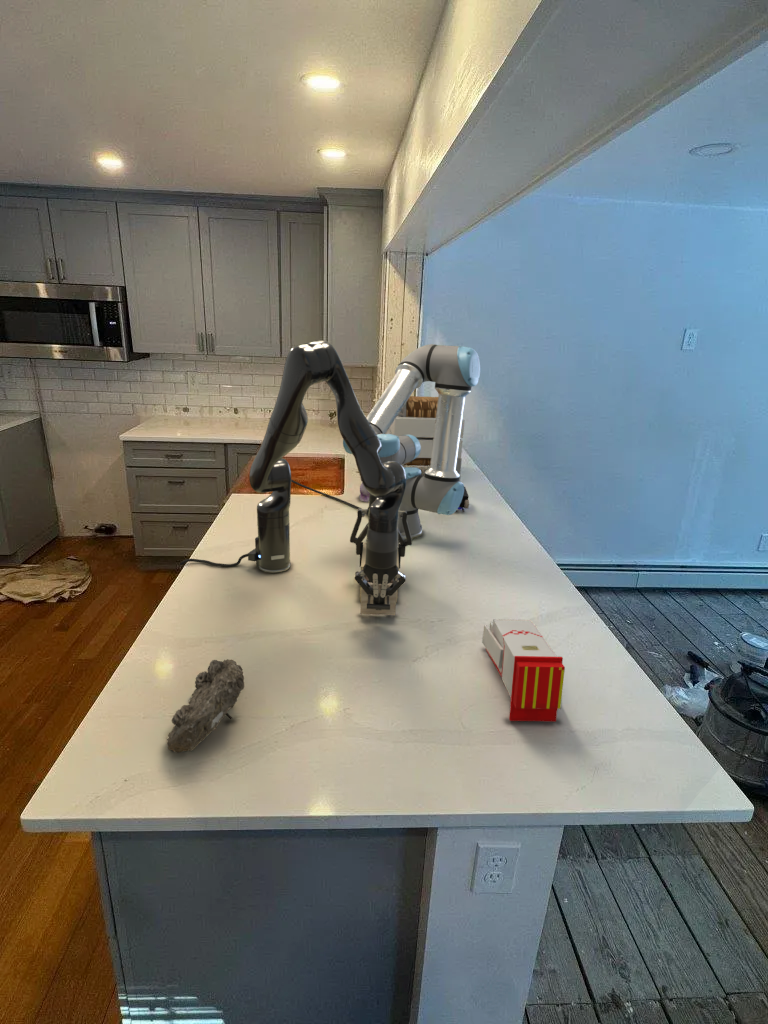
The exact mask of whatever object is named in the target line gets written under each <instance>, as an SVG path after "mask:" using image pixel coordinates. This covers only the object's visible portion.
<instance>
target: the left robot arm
mask: <svg viewBox="0 0 768 1024" xmlns="http://www.w3.org/2000/svg"><path fill="white" fill-rule="evenodd" d="M323 382H325V383H326V384H327V386H328V387H329V389H330V390H331V393H332V394H333V396H334V400H335V405H336V420H337V421H336V422H337V428H338V431H339V433H340V436H341V438H342V440H343V439H344V441H345V443H346V444H347V446H348V448H349V449H350V451H351V453H352V454H351V455H352V456H353V457H354V460H355V464H356V468H357V471H358V474H359V477H360V481H361V480H362V481H361V484H362V483H363V485H364V487H365V488H366V489H367V491H368V492H369V493H370V494H372V495H373V496H375V497H377V499H376V500H375V501H374V502H373V503H372V504H371V506H370V508H369V516H368V517H367V518H368V519H367V520H368V521H367V523H368V531H367V535H366V539H365V543H366V563H365V565H364V567H363V570H362V571H361V570H360V571H355V574H354V580H355V582H356V583H357V584H358V585H359V587H360V586H361V587H362V589H363V590H364V591H365V592H366V593H367V594H368V595H372V596H373V604H385V597H386V596H388V595H389V596H392V595H393V594H394V593H395V592H396V591H397V590H398V591H399V589H400V588H401V587H402V586H403V585H404V584H405V583H406V581H407V578H406V574H405V573H401V572H400V570H399V571H398V567H397V551H398V544H399V541H398V518H399V509H400V506H401V503H402V499H403V496H404V492H405V488H406V473H405V470H404V468H405V467H404V468H403V466H402V465H401V464H400V463H398V462H396V461H388V462H385V463H381V461H380V458H379V456H378V453H379V452H380V451H381V449H382V444H381V442H380V440H379V438H378V436H377V435H376V433H375V431H374V430H373V428H372V426H371V425H370V423H369V422H368V420H367V418H366V417H367V415H365V413H364V411H363V409H362V407H361V405H360V403H359V401H358V398H357V396H356V393H355V391H354V388H353V387H352V384H351V381H350V379H349V377H348V373H347V372H346V369H345V367H344V365H343V362H342V359H341V357H340V356H339V354H338V352H337V350H336V349H335V347H334V346H333V345H332V344H331V342H329V341H327V340H324V339H317V340H313V341H309V342H305V343H301V344H298V345H294V346H293V347H292V348H291V349H290V350H289V351H288V352H287V355H286V359H285V362H284V365H283V371H282V377H281V382H280V386H279V391H278V394H277V397H276V400H275V404H274V407H273V409H272V412H271V415H270V418H269V421H268V424H267V427H266V430H265V434H264V436H263V439H262V442H261V444H260V447H259V449H258V451H257V453H256V455H255V457H254V458H253V461H252V463H251V466H250V469H249V476H248V477H249V478H248V479H249V484H250V487H251V488H252V490H253V491H254V492H256V493H259V494H260V493H261V494H265V493H266V494H267V493H270V494H269V495H268V496H267V497H266V498H263V499H262V500H261V501H259V502H258V503H257V505H256V519H257V521H256V523H257V536H256V537H255V538H254V547H255V548H253V549H252V550H251V551H249V552H247V553H245V554H243V555H241V556H240V557H239V558H238V560H237V561H236V562H234V563H220V562H219V563H218V562H213V561H210V560H206V559H198V558H185V559H184V560H182V561H181V562H180V564H179V566H180V565H181V566H183V565H184V564H186V563H189V562H192V563H193V562H194V563H201V564H207V565H209V566H214V567H223V568H233V567H237V566H239V565H240V563H241V562H242V560H243V559H244V558H247V561H250V562H255V568H257V569H259V570H260V571H262V572H263V573H270V574H277V573H283V572H285V571H286V572H287V570H289V569H290V568H291V542H290V541H291V536H290V535H291V533H290V530H291V529H290V508H291V507H290V506H291V499H292V498H291V493H292V482H291V479H292V471H291V466H290V464H289V461H288V460H287V459H285V458H284V457H285V456H286V455H288V454H289V453H290V452H292V451H293V450H294V449H295V448H296V447H297V446H298V445H299V444H300V442H301V441H302V439H303V436H304V434H305V431H306V430H307V426H308V422H309V416H308V413H307V410H306V407H305V405H304V403H303V401H304V400H305V399H304V398H305V395H306V394H307V392H308V390H309V388H310V387H311V386H314V385H317V384H321V383H323ZM365 575H366V576H367V578H368V579H369V580H370V582H372V583H373V588H372V587H371V586H370V585H369V583H368V582H367V581H366V580H365ZM395 576H396V580H395V581H394V582H393V583H392V584H391V585H390V586H389V587H388V588H387V584H388V583H390V582H391V581H392V580H393V578H394V577H395ZM378 584H381V591H380V593H379V586H378ZM376 610H378V609H376ZM379 610H381V609H379Z"/></svg>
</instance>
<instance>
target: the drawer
mask: <svg viewBox="0 0 768 1024" xmlns="http://www.w3.org/2000/svg"><path fill="white" fill-rule="evenodd" d="M365 580H366V581H367V582H368V583H369V585H370V586H371V587H372V588H373V583H372V582H370V580H369V579H368V578H367V576H366V579H365ZM392 583H393V580H392V581H391V582H390V583H388V584H387V588H388V587H389V586H390V585H391V584H392ZM378 586H379V593H380V591H381V584H378ZM396 592H397V591H396ZM396 592H395V593H394V594H393V595H392V596H389V595H388V596H386V597H385V604H373V596H372V595H368V594H367V593H366V592H365V591H364V590H363V589H362V590H361V601H360V614H361V615H378V616H379V615H382V616H384V615H385V616H396V610H397V608H396V607H397V603H396ZM376 609H378V610H376ZM379 609H381V610H379Z"/></svg>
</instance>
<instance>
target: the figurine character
mask: <svg viewBox="0 0 768 1024" xmlns="http://www.w3.org/2000/svg"><path fill="white" fill-rule="evenodd" d="M469 498H470V496H469V494H468V491H467V488H466V486H464V494H463V498H462V501H461V503H460V505H459V507H458V509H457V510H456V511H455V513H458V510H461V511H462V513H465V509H469V506H470V500H469Z"/></svg>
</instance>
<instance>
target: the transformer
mask: <svg viewBox="0 0 768 1024" xmlns="http://www.w3.org/2000/svg"><path fill="white" fill-rule="evenodd" d="M437 404H438V396H415V395H414V396H413V395H411V396H410V397H409V399H408V400H407V402H406V403H405V405H404V406H403V408H402V409H401V411H400V412H399V414H398V416H397V417H396V419H395V420H394V422H393V423H392V425H391V426H390V428H389V429H388V431H387V432H386V434H392V435H396V436H402V435H413V436H415V437H416V438H417V439H418V441H419V442H420V446H421V451H420V454H419V455H418V457H417V458H415V459H414V460H413V461H411V462H408V463H405V464H403V465H402V466H403V468H405V466H406V467H409V466H411V467H417V466H418V467H430V463H431V454H432V446H433V437H434V429H435V421H436V412H437ZM464 429H465V419H464V418H463V419H462V426H461V434H460V441H459V449H458V457H457V464H456V471H457V473H458V474H459V475H460V477H459V482H461V472H462V461H463V460H462V453H463V442H464V441H463V440H462V439H463V438H464V431H465V430H464Z"/></svg>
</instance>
